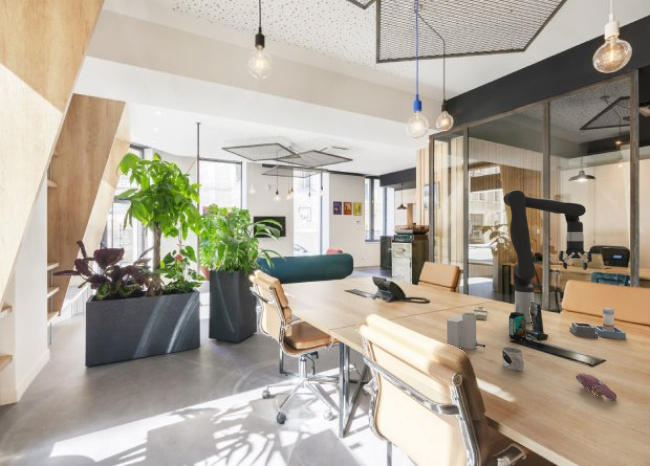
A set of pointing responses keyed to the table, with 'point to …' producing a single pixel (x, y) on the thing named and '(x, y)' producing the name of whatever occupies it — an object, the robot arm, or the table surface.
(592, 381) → the video game controller
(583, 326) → the block
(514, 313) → the beverage can
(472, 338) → the grey stepped block
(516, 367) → the mug
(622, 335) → the tray
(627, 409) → the table surface
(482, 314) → the electrical outlet
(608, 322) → the cylinder
